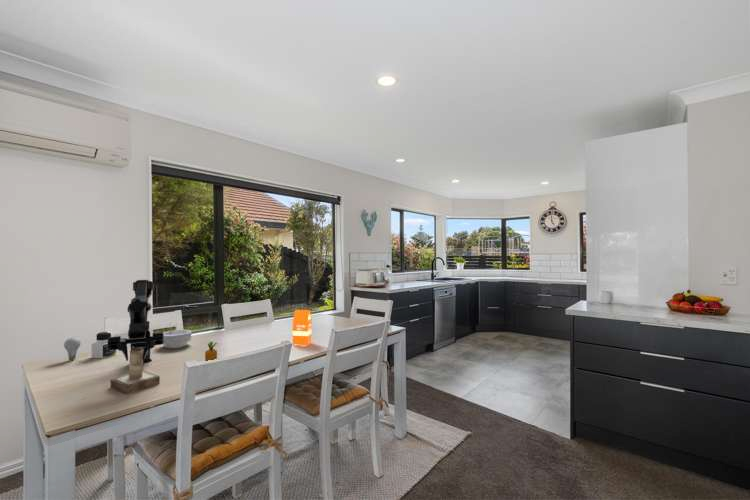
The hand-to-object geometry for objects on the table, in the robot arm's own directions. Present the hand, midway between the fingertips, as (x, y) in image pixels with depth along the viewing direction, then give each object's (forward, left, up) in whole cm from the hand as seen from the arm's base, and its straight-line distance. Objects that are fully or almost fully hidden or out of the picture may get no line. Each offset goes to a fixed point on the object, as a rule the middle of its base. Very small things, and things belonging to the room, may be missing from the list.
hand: (135, 359), depth 137 cm
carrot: (-23, +15, -11) cm, 29 cm away
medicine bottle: (-13, -55, -11) cm, 58 cm away
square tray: (-1, -1, -11) cm, 11 cm away
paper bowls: (-42, -42, -11) cm, 60 cm away
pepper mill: (-1, -1, -7) cm, 8 cm away
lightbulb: (-2, -60, -11) cm, 61 cm away
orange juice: (-82, +15, -11) cm, 84 cm away
